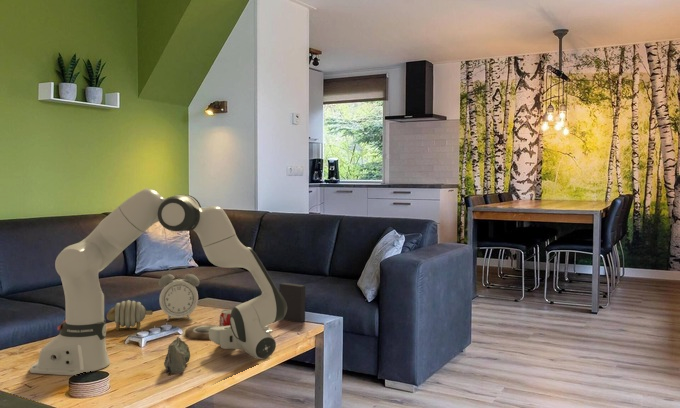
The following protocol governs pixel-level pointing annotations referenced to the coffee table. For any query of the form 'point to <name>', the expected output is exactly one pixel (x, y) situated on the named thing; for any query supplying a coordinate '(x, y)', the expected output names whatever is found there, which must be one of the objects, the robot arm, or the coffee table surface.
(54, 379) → the coffee table surface
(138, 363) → the coffee table surface
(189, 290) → the alarm clock
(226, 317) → the soda can
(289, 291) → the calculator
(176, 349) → the mineral rock
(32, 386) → the coffee table surface
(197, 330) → the ring plate
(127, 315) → the toy sheep
